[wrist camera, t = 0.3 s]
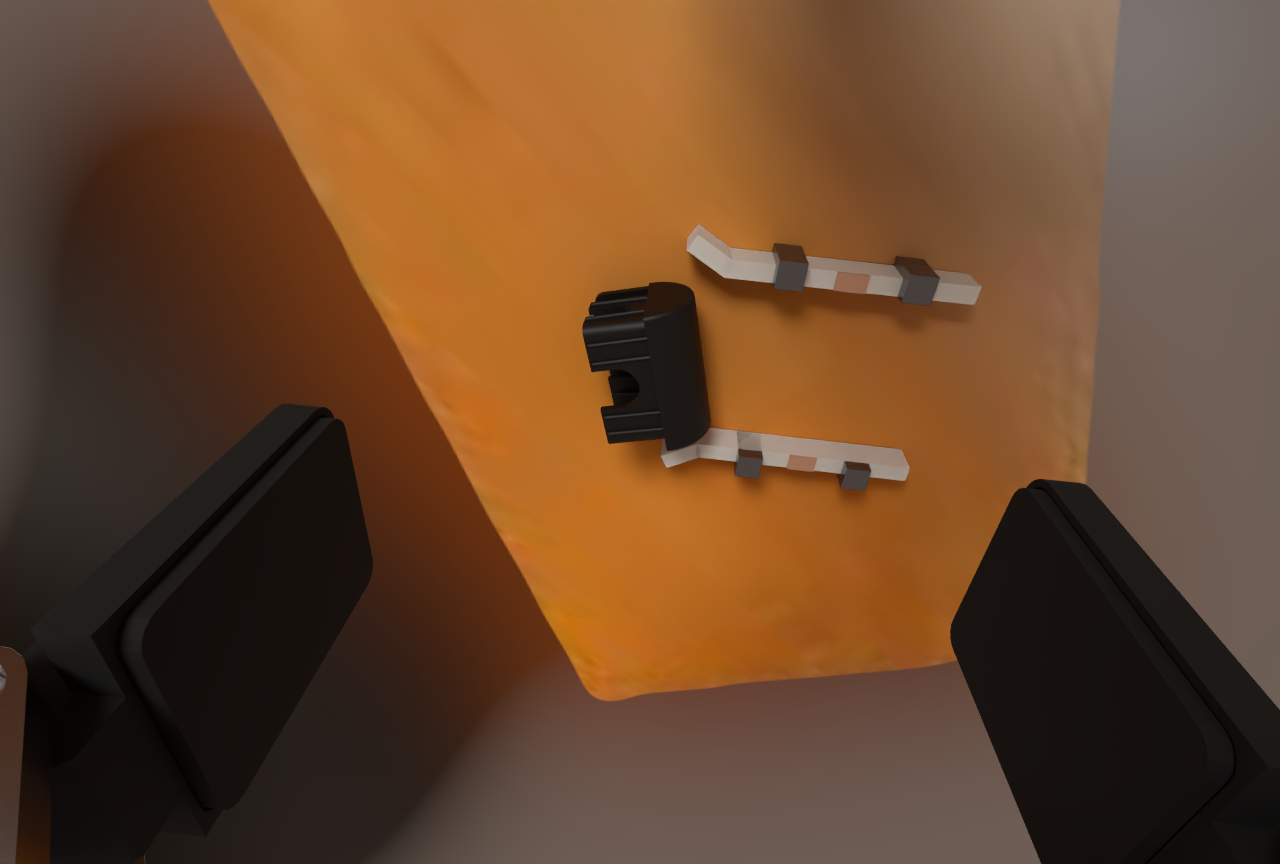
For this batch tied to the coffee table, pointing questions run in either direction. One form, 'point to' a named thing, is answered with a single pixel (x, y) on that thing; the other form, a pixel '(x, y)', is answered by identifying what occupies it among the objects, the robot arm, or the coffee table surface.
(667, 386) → the end cap
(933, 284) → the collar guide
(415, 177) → the coffee table surface
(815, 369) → the coffee table surface
